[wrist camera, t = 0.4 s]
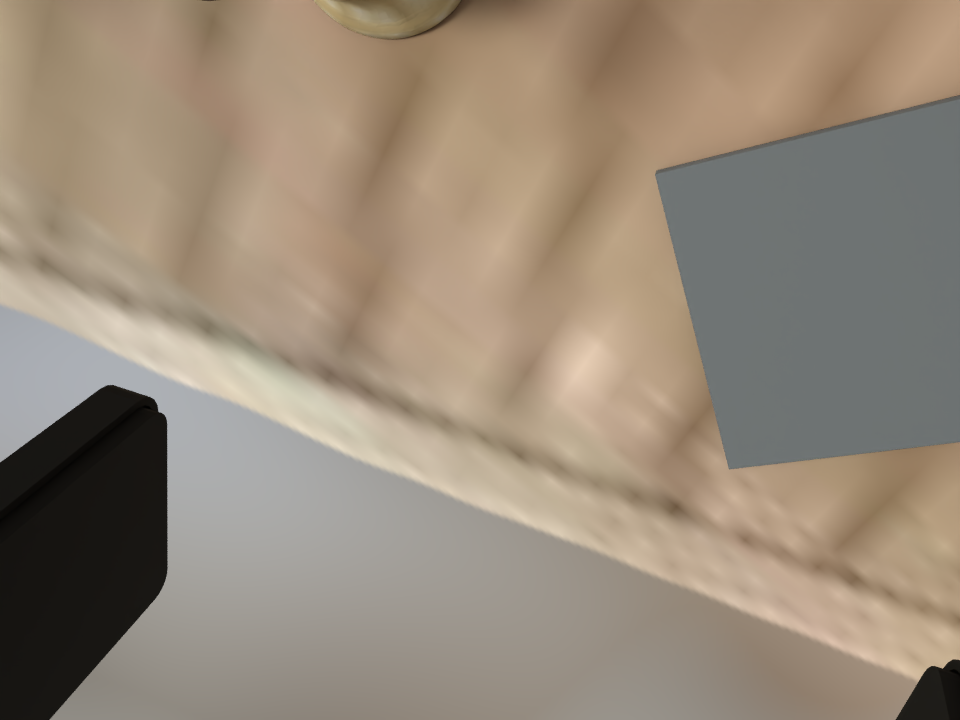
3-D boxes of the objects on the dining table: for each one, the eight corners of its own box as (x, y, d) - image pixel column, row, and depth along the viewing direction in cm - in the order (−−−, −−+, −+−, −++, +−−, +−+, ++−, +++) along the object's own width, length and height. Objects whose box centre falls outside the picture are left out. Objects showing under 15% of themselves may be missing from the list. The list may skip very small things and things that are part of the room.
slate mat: (1054, 71, 31) (1059, 74, 31) (1084, 419, 36) (1088, 426, 36) (656, 170, 37) (655, 174, 36) (729, 462, 42) (728, 469, 41)
